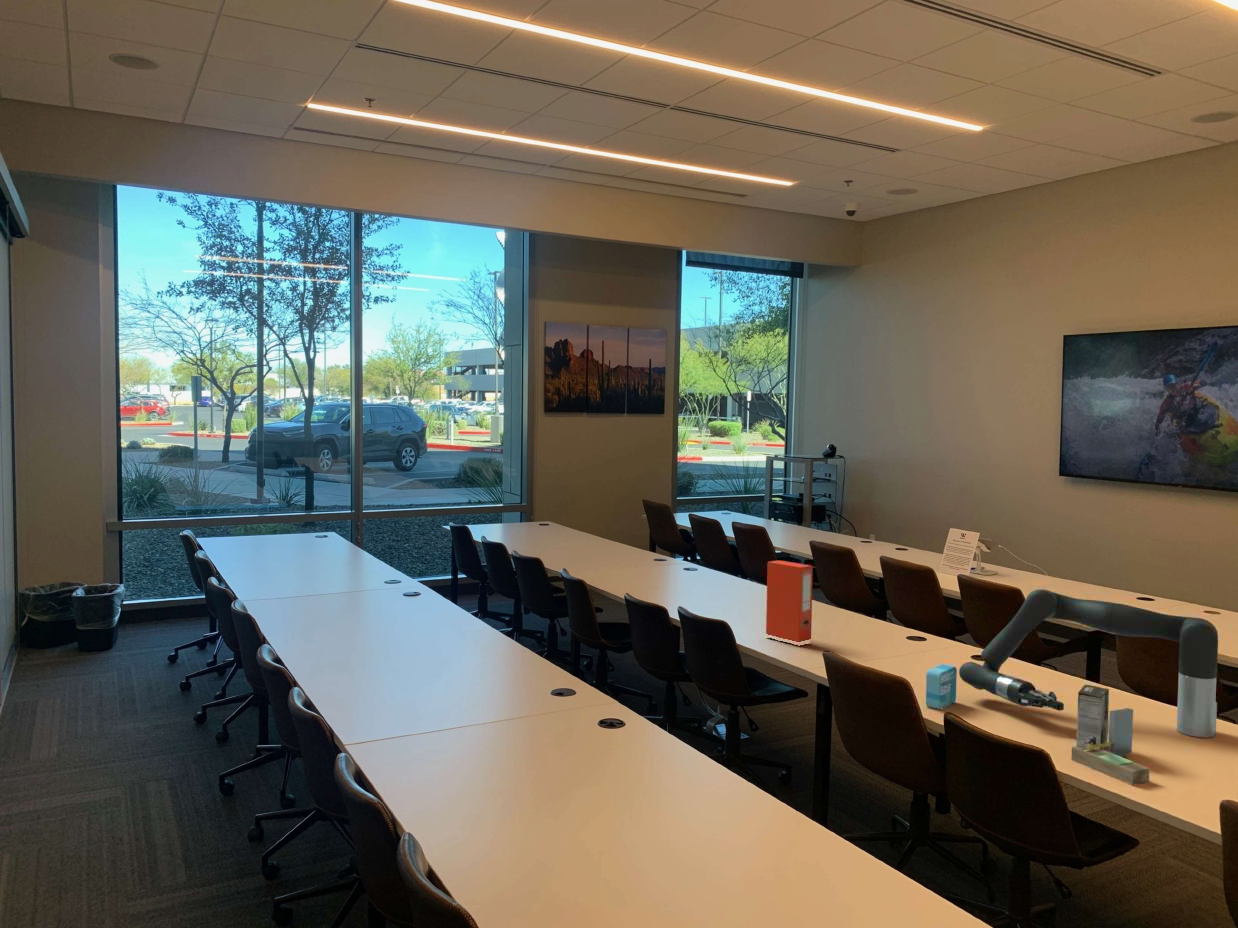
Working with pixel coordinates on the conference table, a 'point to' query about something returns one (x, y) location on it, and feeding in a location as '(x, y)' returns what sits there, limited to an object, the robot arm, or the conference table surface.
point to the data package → (941, 686)
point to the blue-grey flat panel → (1119, 732)
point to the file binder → (789, 600)
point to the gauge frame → (1110, 764)
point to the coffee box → (1092, 716)
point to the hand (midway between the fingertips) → (1061, 706)
